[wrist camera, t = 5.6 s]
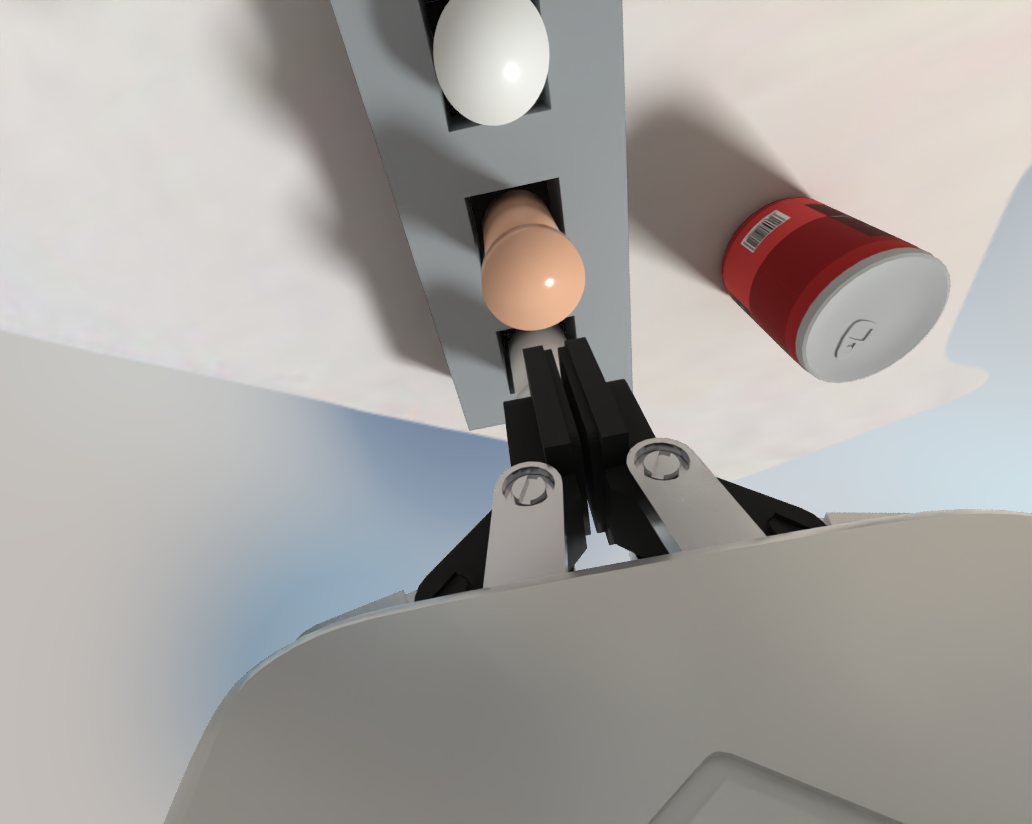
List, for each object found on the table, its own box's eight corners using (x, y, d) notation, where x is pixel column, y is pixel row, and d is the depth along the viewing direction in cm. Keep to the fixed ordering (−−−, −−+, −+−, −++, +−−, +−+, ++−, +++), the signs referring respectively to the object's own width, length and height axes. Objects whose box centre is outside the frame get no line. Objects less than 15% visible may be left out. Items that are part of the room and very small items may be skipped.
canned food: (706, 306, 37) (782, 388, 28) (735, 195, 32) (838, 255, 23) (801, 300, 37) (904, 380, 28) (844, 191, 32) (984, 248, 23)
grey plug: (497, 322, 31) (506, 395, 24) (567, 308, 31) (594, 378, 24) (510, 379, 34) (521, 457, 27) (574, 366, 33) (600, 442, 27)
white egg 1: (429, 6, 24) (417, -5, 17) (519, -15, 23) (540, -34, 17) (453, 112, 26) (450, 136, 20) (533, 94, 26) (556, 112, 20)
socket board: (339, -49, 23) (307, -70, 18) (585, -108, 22) (618, -146, 18) (468, 383, 39) (469, 430, 34) (612, 354, 38) (632, 398, 34)
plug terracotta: (468, 193, 26) (470, 244, 20) (551, 175, 26) (580, 220, 19) (486, 273, 29) (493, 339, 22) (561, 257, 28) (589, 319, 22)
